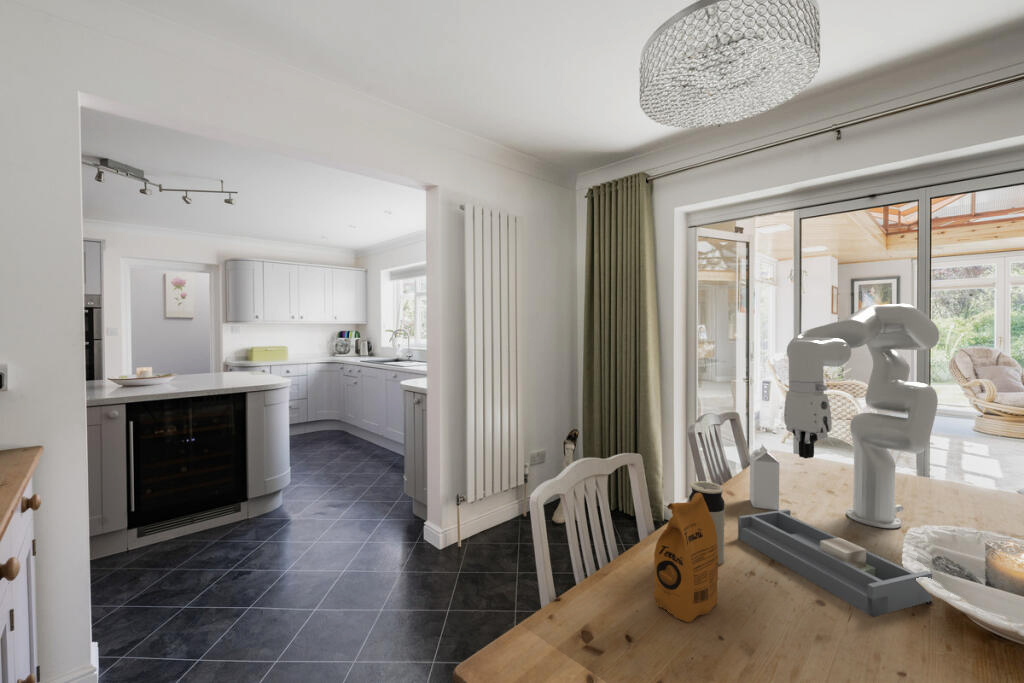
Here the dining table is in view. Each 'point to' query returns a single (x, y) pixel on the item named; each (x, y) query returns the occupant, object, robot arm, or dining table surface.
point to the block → (845, 551)
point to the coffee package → (687, 561)
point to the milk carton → (764, 479)
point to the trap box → (833, 564)
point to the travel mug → (713, 509)
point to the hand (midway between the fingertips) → (806, 456)
